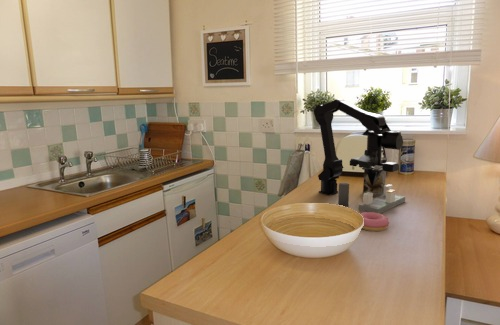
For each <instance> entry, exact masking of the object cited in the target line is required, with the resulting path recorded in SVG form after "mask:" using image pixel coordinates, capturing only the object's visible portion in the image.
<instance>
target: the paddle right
mask: <svg viewBox="0 0 500 325" xmlns="http://www.w3.org/2000/svg"><path fill="white" fill-rule="evenodd" d="M393 188H394V185H393V184H390V183H388V184H385V186H384V195H385V196H386V191H388V190H390V189H391V190H394V189H393Z"/></svg>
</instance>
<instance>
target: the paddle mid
mask: <svg viewBox="0 0 500 325" xmlns="http://www.w3.org/2000/svg"><path fill="white" fill-rule="evenodd" d="M395 195H396V190H395V189H393V190H391V189H390V190H388V191H386V201H385V202H387V203H392V202H394V201H395Z"/></svg>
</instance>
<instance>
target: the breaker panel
mask: <svg viewBox="0 0 500 325" xmlns="http://www.w3.org/2000/svg"><path fill="white" fill-rule="evenodd" d="M385 201H386V196H385V195H384V194H383V195H381V196H379V195H377V196H376V197H373V203H371V204H369V205H366V204H363V202H362V203H360V204H358V210H359V211H363V212H374V213H379V214H382V213H384V212H386V211H388V210H390V209H392V208H394V207H397V206H398V205H401V204H402V203H404V202H406V196H403V195H397V194H395V201H394V202H392V203H387V202H385Z"/></svg>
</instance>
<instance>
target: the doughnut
mask: <svg viewBox="0 0 500 325" xmlns="http://www.w3.org/2000/svg"><path fill="white" fill-rule="evenodd" d="M360 214H361V215H362V216H363V218H364V226H363V229H362V230H365V231H369V232H382V231H384V230H386V229H387V228H388V227H389V224H390V221H389V218H388V216H386V215H384V214H382V213H380V214H379V213H374V212H366V211H364V212H362V213H360Z"/></svg>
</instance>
